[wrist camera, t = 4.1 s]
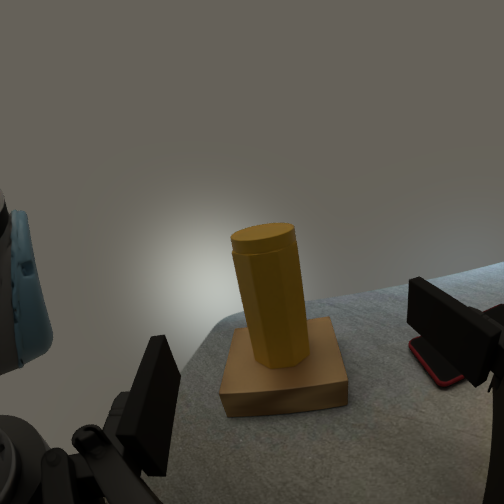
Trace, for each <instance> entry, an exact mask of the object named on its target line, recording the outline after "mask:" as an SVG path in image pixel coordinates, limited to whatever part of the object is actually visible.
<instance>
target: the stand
mask: <svg viewBox="0 0 504 504" xmlns="http://www.w3.org/2000/svg"><path fill="white" fill-rule="evenodd" d="M307 328H308V338H309V348H310V355H308V356H307V357H306V358H305V359H303V360H302V361H301V362H300V363H298V364H297V365H296V366H294V367H286V368H277V369H270V368H268V367H266V366H264V365H262V364H261V363H259V362H257V361H255V358H254V354H253V349H252V345H251V340H250V336H249V331H248V327H246V328H236V329H235V330H234V334H233V339H232V343H231V347H230V351H229V355H228V359H227V363H226V367H225V371H224V375H223V379H222V383H221V387H220V391H219V396H220V398H221V401H222V404H223V407H224V409H225V412H226V415H227V417H244V416H262V415H276V414H287V413H296V412H304V411H312V410H319V409H326V408H332V407H338V406H344V405H347V404H348V377H347V374H346V370H345V367H344V363H343V360H342V356H341V353H340V349H339V346H338V343H337V339H336V336H335V333H334V329H333V326H332V323H331V320H330V317H323V318H316V319H309V320H307Z"/></svg>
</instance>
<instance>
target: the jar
mask: <svg viewBox="0 0 504 504" xmlns="http://www.w3.org/2000/svg"><path fill="white" fill-rule="evenodd" d="M231 242H232V247H233V251H232V256H233V261H234V265H235V271H236V276H237V280H238V284H239V290H240V294H241V299H242V303H243V308H244V313H245V318H246V322H247V327H248V331H249V336H250V340H251V345H252V349H253V354H254V358H255V361H257V362H259V363H261V364H262V365H264V366H266V367H268V368H270V369H277V368H286V367H294V366H296V365H297V364H298V363H300V362H301V361H302V360H303V359H305V358H306V357H307V356H308V355H310V348H309V338H308V328H307V319H306V310H305V301H304V294H303V285H302V277H301V270H300V262H299V255H298V247H297V241H296V235H295V229H294V226H293V225H292V224H289V223H269V224H262V225H257V226H252V227H248V228H245V229H242V230H239V231H237V232H235V233H234V234H233V235H232V236H231Z"/></svg>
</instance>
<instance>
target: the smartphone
mask: <svg viewBox="0 0 504 504" xmlns="http://www.w3.org/2000/svg"><path fill="white" fill-rule="evenodd" d="M483 313H484V314H485V315H487V316H489V317H490V319H491V318H492V319H493V320H495V321H496V322H498V323H499V324H501V325H502V326H504V304H499V305H497V306H494V307H492V308H490V309H488V310H486V311H483ZM409 349H410V350H411V351H412V353H413V354H414V355H415V356H416V358H417V359H418V360H419V362H420V363H421V364H422V365H423V367H424V368H425V369H426V371H427V372H428V373H429V375H430V376H431V377H432V378H433V380H434V381H435V382H436V384H437V385H439V386H441V387H446V386H449V385H451V384H453V383H455V382H458V381H460V380H462V379H464V378H465V377H464V376H463V375H462V374H461V373H460V372H459V371H458V370H457V369H456V368H455V367H454V366H453V365H452V364H451V363H450V362H449V361H448V360H447V359H445V358H444V357H443V356H442V355H441V354H440V353H439V352H438V351H437V350H436V349H435V348H434V347H433V346H432V345H431V344H430V343H429V342H427V341H426V340H425V339H424V338H423V337H422V336H419V337H416V338H413V339H412V340H410V341H409Z"/></svg>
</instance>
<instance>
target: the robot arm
mask: <svg viewBox="0 0 504 504" xmlns="http://www.w3.org/2000/svg"><path fill="white" fill-rule="evenodd" d="M407 323H408V324H409V325H410V326H411V327H412V328H413V329H414V330H415V331H417V332H418V333H419V334H420V335H421V336H422V337H423V338H424V339H425V340H426V341H427V342H429V343H430V344H431V345H432V346H433V347H434V348H435V349H436V350H437V351H438V352H439V353H440V354H441V355H442V356H443V357H444V358H445V359H447V360H448V361H449V362H450V363H451V364H452V365H453V366H454V367H455V368H456V369H457V370H458V371H459V372H460V373H461V374H462V375H463V376H464V377H465V378H466V379H467V380H468V381H469V382H470V383H471V384H472V385H473V386H474V387H475V388H476V387H477V386H479V385H480V384H482V383H483V382H485V381H486V380H487V377H488V374H489V372H490V371H492V372H493V373H494V375H493V378H492V381H491V383H490V386H489V388H488V392H490V390H491V388H493V423H492V441H491V453H490V462H489V469H488V476H487V482H486V488H485V493H484V498H483V503H482V504H504V326H502V325H501V324H499V323H498V322H496V321H495V320H493V319H492V318H491V319H490V317H489V316H487V315H485V314H484V313H483V312H481V311H480V310H478V309H476V308H473V307H467V306H466V305H464V304H462V303H461V302H459V301H458V300H456V299H455V298H453V297H452V296H450V295H448V294H447V293H445V292H444V291H442V290H441V289H439V288H437V287H436V286H434V285H433V284H431V283H429V282H428V281H426V280H424V279H423V278H421V277H416V278H413V279H410V280H409V291H408V311H407ZM52 341H53V331H52V327H51V324H50V320H49V317H48V313H47V309H46V306H45V302H44V299H43V294H42V290H41V286H40V282H39V278H38V273H37V269H36V264H35V258H34V253H33V248H32V242H31V236H30V230H29V224H28V218H27V214H26V213H25V212H24V211H17V210H13V211H11V213H10V214H9V213H8V211H7V207H6V204H5V199H4V195H3V193H2V191H1V189H0V375H2V374H5V373H7V372H10V371H12V370H15V369H17V368H22V367H23V366H24V364H26V363H28V362H30V361H31V360H33V359H35V358H37V357H39V356H41V355H43V354H45V353H46V352H47V351H48V349H49V348H50V347H51V344H52ZM180 379H181V375H180V373H179V370H178V368H177V365H176V363H175V360H174V358H173V355H172V352H171V350H170V347H169V345H168V342H167V339H166V337H165V335H158V336H152V337H151V338H150V340H149V343H148V345H147V348H146V350H145V353H144V355H143V358H142V361H141V363H140V366H139V369H138V371H137V374H136V377H135V379H134V382H133V385H132V387H131V390H130V392H121V393H120V394H119V395H118V396H117V397H116V398H115V399H114V401H113V404H112V406H111V410H110V411H109V414H108V417H107V419H106V422H105V424H104V427H103V430H102V429H101V428H100V427H99V426H97V425H85V426H83V427H81V428H79V429H78V430H76V432H75V433H74V434H73V437H72V445H73V446H74V447H75V448H76V449H77V451H78V452H79V453H78V454H73V455H68V454H67V453H66V452H65V451H64V450H63V449H61V448H52V449H49V450H48V451H46V452H45V453H44V455H43V456H42V458H41V482H42V496H43V504H105V501H104V498H103V497H106V499H107V500H108V502H109V504H163V503H162V502H161V501H160V500H159V499H158V497H157V496H156V495H155V494H154V493H153V492H152V490H151V489H150V488H149V487H148V485H147V484H146V483H145V482H144V481H143V479H142V478H141V477H140V476H141V471H142V470H143V471H144V472H145V473H146V475H147V476H159V477H166V472H167V464H168V456H169V449H170V442H171V435H172V428H173V422H174V415H175V409H176V403H177V397H178V391H179V385H180ZM20 472H21V463H20V456H19V453H18V450H17V448H16V446H15V445H14V443H13V442H12V441H11V440H10V438H9V437H8V436H7V435H6V433H5V432H4V431H3V430H1V429H0V504H10V502H11V500H12V499H13V497H14V495H15V492H16V490H17V487H18V483H19V479H20Z"/></svg>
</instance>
